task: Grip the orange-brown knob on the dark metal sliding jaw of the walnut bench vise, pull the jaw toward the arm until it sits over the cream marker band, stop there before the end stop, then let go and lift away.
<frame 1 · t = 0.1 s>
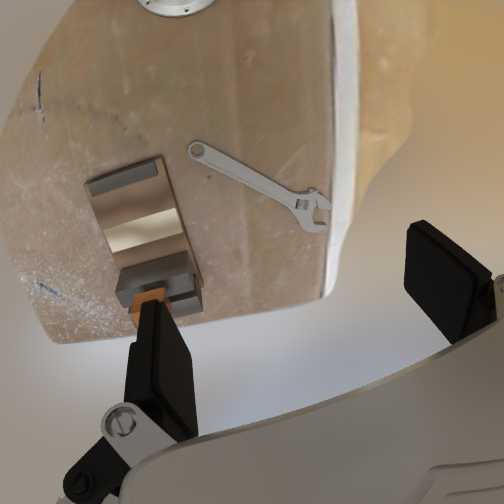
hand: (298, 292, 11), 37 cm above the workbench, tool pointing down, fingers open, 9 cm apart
sliding jaw: (153, 291, 43), point 8 cm above the workbench, slide at 0.0 cm
adjustable wrench: (267, 179, 48), on the workbench
bench vise: (146, 233, 48), on the workbench
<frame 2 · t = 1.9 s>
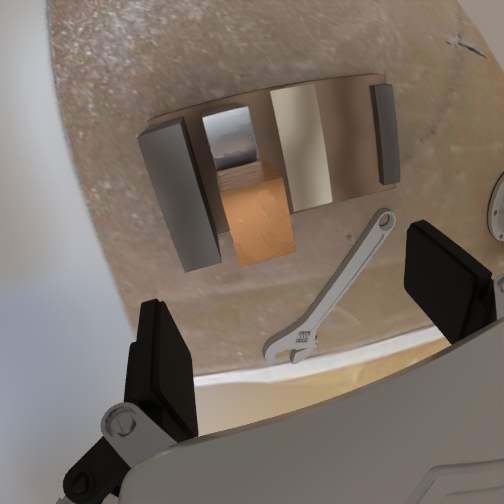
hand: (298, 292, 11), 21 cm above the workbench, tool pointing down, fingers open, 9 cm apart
sliding jaw: (244, 188, 22), point 8 cm above the workbench, slide at 0.0 cm
adjustable wrench: (329, 293, 40), on the workbench
bench vise: (282, 148, 29), on the workbench
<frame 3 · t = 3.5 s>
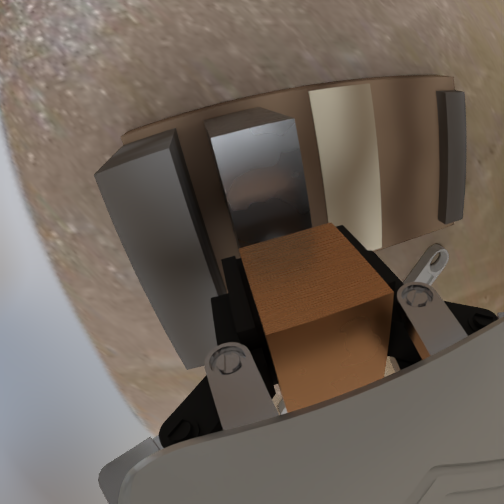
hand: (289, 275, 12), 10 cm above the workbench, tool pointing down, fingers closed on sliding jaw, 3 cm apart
sliding jaw: (281, 259, 13), point 9 cm above the workbench, slide at 0.0 cm, touching gripper
adjustable wrench: (361, 343, 31), on the workbench
bench vise: (318, 174, 21), on the workbench
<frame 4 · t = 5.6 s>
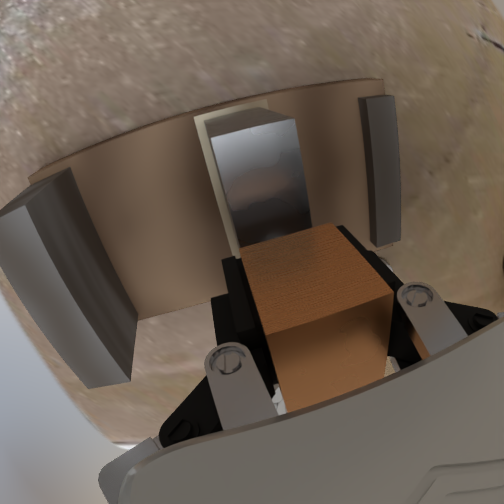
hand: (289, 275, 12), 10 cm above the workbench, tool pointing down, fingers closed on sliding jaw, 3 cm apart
sliding jaw: (281, 259, 13), point 8 cm above the workbench, slide at 6.4 cm, touching gripper
bench vise: (224, 198, 21), on the workbench
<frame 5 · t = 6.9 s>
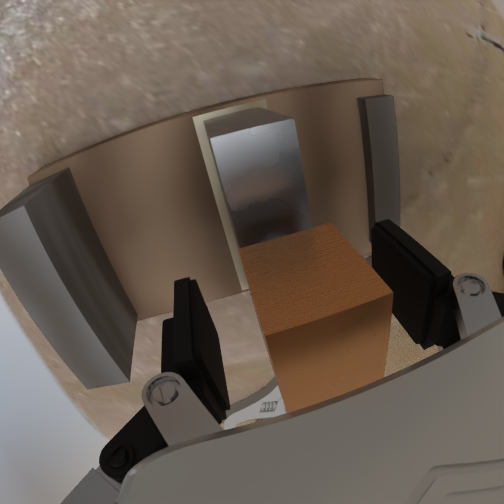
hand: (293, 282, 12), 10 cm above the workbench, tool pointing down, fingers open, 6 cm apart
sliding jaw: (281, 259, 13), point 8 cm above the workbench, slide at 6.5 cm
adjustable wrench: (302, 358, 31), on the workbench
bench vise: (223, 198, 21), on the workbench
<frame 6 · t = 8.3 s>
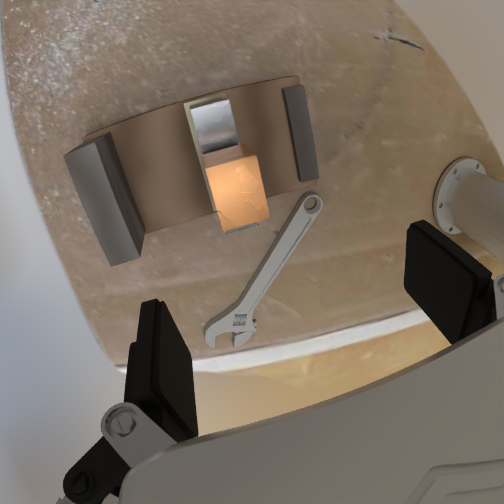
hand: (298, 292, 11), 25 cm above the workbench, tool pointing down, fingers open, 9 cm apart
sliding jaw: (226, 170, 25), point 8 cm above the workbench, slide at 6.5 cm
adjustable wrench: (263, 277, 42), on the workbench
bench vise: (202, 153, 32), on the workbench
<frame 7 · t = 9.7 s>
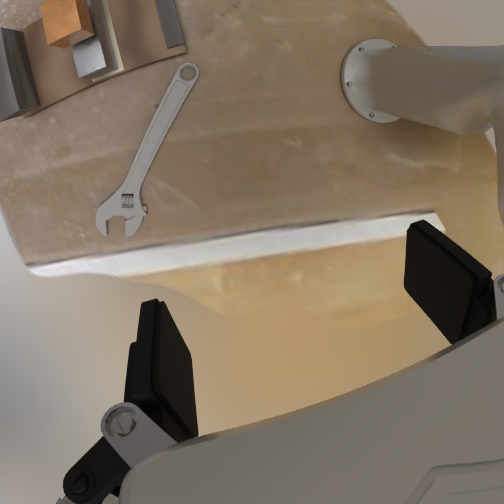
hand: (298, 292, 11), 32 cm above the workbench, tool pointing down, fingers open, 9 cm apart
sliding jaw: (80, 26, 22), point 8 cm above the workbench, slide at 6.5 cm
adjustable wrench: (151, 155, 39), on the workbench
bench vise: (90, 41, 29), on the workbench
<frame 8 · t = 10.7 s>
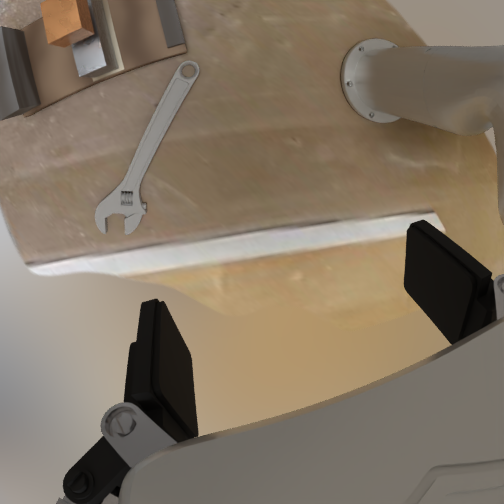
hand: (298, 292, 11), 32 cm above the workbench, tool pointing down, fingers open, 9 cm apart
sliding jaw: (81, 25, 22), point 8 cm above the workbench, slide at 6.5 cm
adjustable wrench: (151, 153, 39), on the workbench
bench vise: (91, 40, 29), on the workbench
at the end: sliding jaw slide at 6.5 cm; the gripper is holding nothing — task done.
